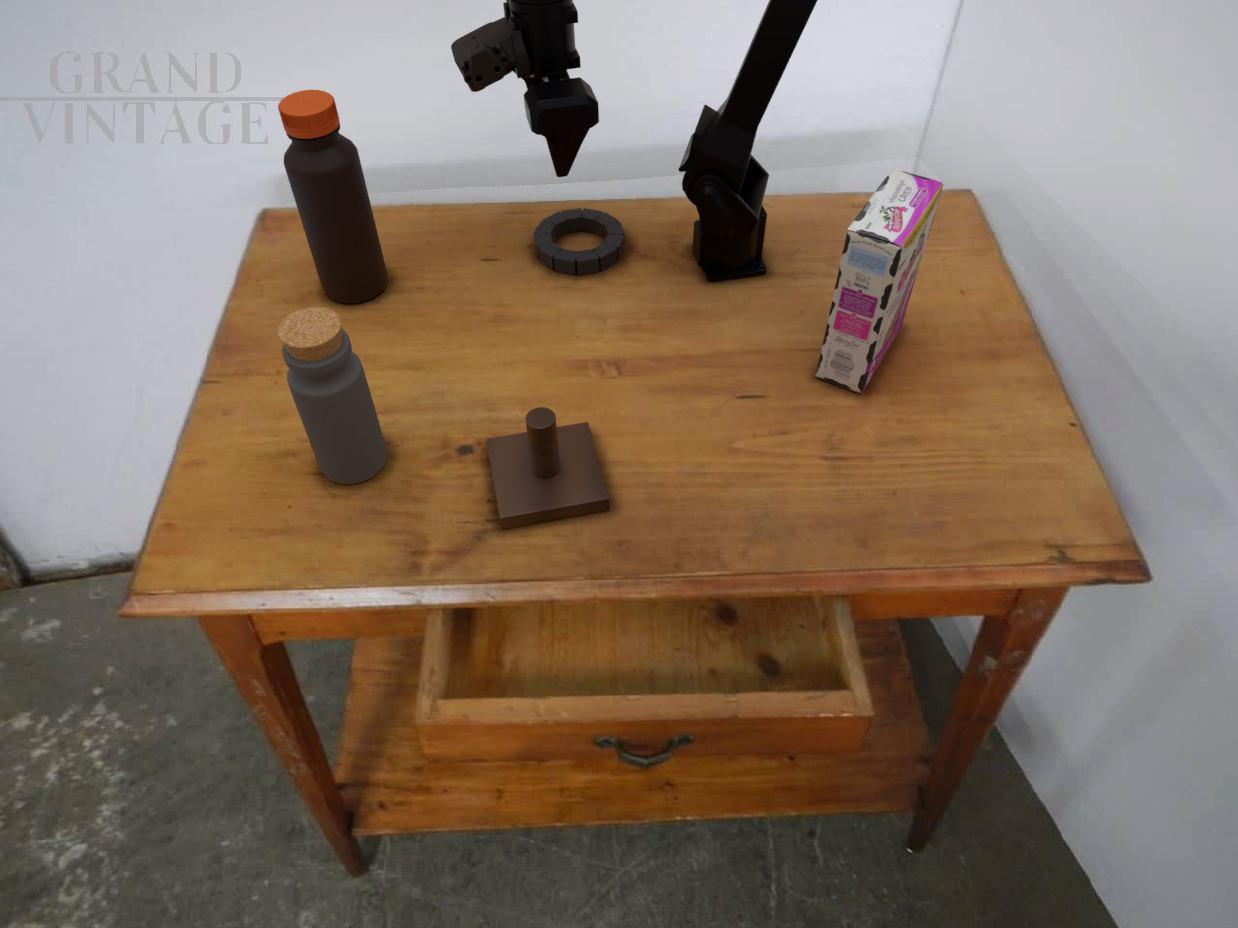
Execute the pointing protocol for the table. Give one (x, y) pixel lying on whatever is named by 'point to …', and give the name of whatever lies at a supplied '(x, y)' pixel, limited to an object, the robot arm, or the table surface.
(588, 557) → the table surface
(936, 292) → the table surface
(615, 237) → the ring
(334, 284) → the vinegar
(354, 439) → the bottle
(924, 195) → the candy bar box
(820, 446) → the table surface
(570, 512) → the peg stand
